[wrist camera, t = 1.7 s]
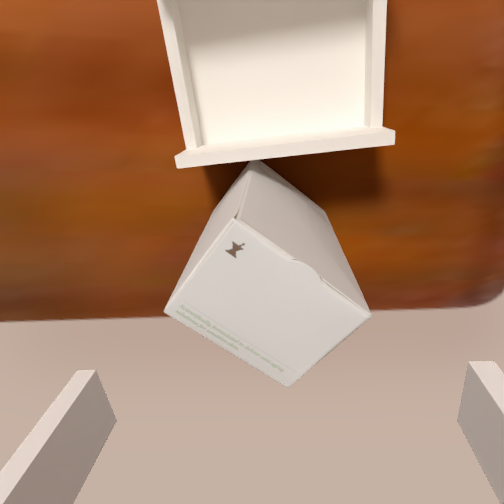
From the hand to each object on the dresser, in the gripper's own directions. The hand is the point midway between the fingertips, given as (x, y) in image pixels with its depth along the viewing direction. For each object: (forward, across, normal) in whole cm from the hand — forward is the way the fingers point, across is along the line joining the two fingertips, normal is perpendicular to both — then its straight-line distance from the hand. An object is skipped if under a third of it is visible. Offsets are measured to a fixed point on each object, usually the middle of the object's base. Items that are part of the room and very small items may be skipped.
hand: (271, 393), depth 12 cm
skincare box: (+20, -1, +1) cm, 20 cm away
